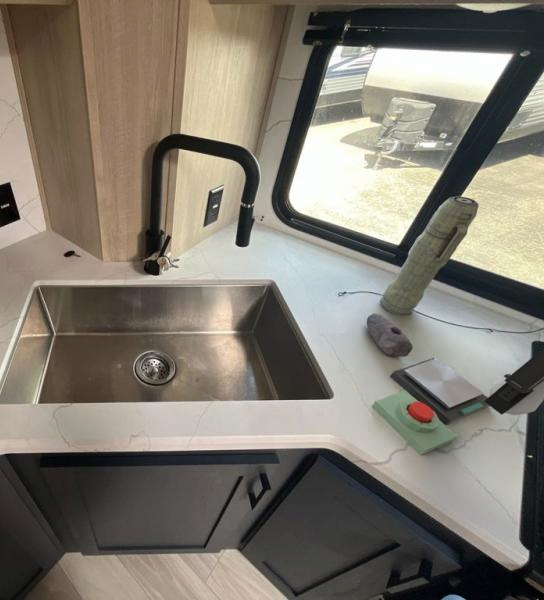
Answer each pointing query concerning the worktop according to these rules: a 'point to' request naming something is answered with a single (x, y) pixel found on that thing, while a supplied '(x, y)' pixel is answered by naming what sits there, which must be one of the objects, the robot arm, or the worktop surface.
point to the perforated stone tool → (388, 336)
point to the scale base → (440, 410)
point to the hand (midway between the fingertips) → (506, 401)
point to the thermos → (429, 254)
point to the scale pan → (443, 383)
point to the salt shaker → (527, 403)
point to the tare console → (413, 423)
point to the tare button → (420, 412)
